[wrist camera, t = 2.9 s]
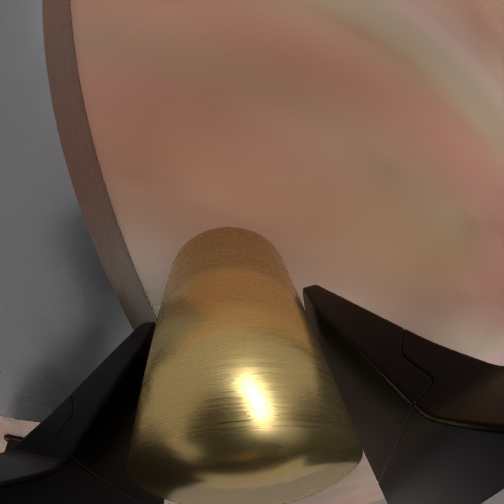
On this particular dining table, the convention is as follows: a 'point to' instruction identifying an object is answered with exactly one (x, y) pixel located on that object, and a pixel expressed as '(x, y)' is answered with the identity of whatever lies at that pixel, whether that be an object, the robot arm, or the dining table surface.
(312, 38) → the dining table surface
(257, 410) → the gold rounded cylinder
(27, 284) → the jig
